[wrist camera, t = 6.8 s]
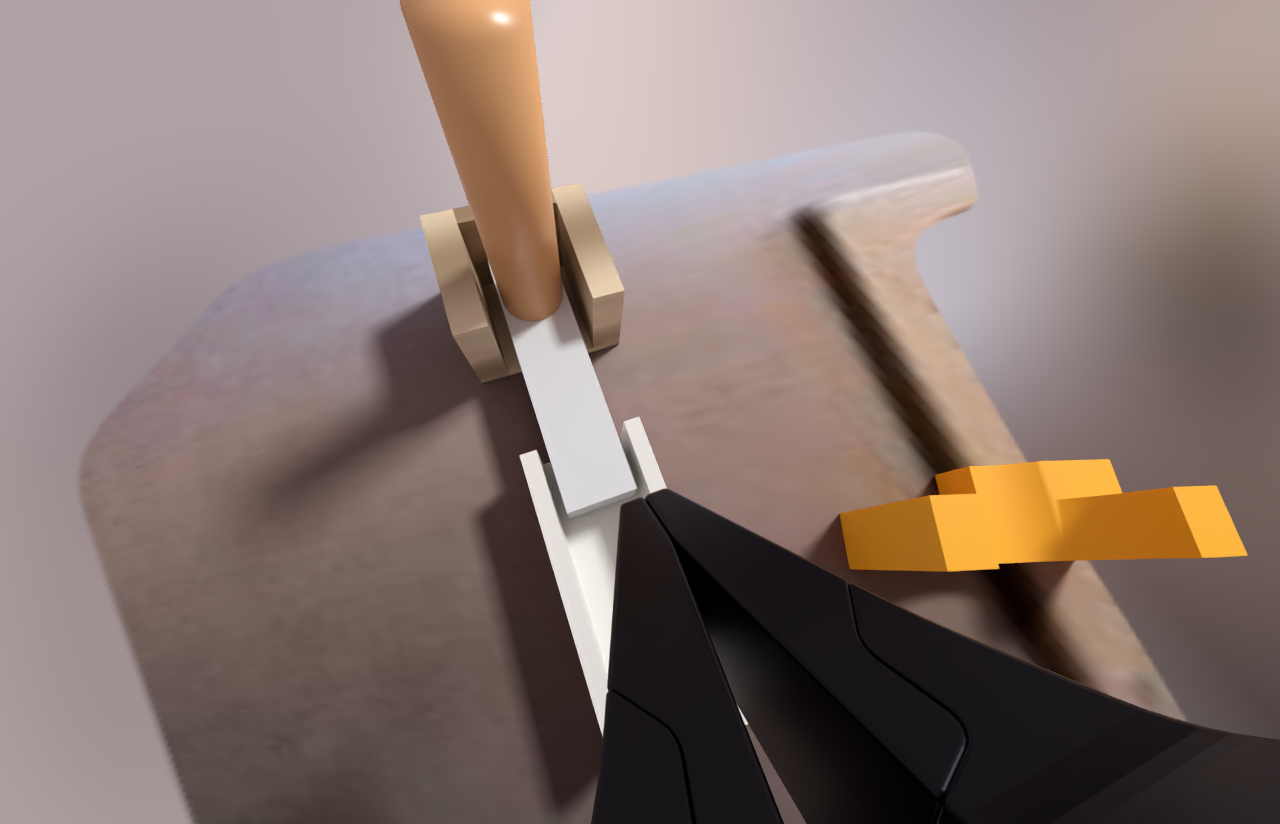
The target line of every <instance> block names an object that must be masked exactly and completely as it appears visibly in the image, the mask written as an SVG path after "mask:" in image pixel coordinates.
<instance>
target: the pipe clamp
mask: <svg viewBox="0 0 1280 824" xmlns="http://www.w3.org/2000/svg"><path fill="white" fill-rule="evenodd" d="M935 478H936V482H937V486H938V490H939V494H940V495H928V496H924V497H919V498H914V499H909V500H904V501H899V502H894V503H889V504H884V505H879V506H875V507H870V508H865V509H860V510H855V511H850V512H845V513H840V519H841V525H842V530H843V536H844V541H845V547H846V552H847V558H848V563H849V569H856V570H902V571H947V572H948V571H967V570H986V569H999V565H998V564H1001V563H1022V562H1046V561H1076V560H1109V559H1110V560H1111V559H1156V558H1157V559H1159V558H1210V557H1227V556H1246V555H1247V553H1246V551H1245V548H1244V546H1243V544H1242V542H1241V540H1240V537H1239V535H1238V533H1237V531H1236V528H1235V526H1234V524H1233V522H1232V519H1231V517H1230V515H1229V513H1228V511H1227V508H1226V506H1225V504H1224V502H1223V499H1222V497H1221V495H1220V493H1219V490H1218V488H1217V486H1191V487H1190V486H1189V487H1170V488H1161V489H1154V490H1145V491H1137V492H1128V493H1122V491H1121V488H1120V486H1119V483H1118V481H1117V478H1116V475H1115V473H1114V470H1113V468H1112V465H1111V462H1110V460H1109V459H1107V460H1106V459H1105V460H1067V461H1038V462H1029V463H1019V464H1007V465H993V466H968V467H965V468H961V469H957V470H953V471H949V472H945V473H941V474H938V475H935Z"/></svg>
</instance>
